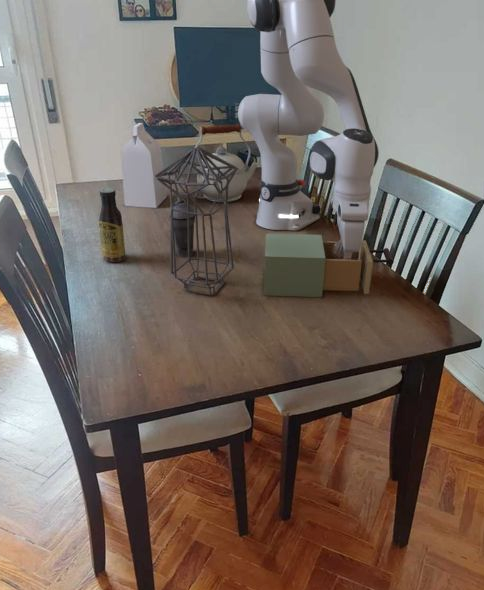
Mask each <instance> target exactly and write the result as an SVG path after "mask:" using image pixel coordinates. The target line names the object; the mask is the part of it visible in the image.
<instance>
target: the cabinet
mask: <svg viewBox="0 0 484 590" xmlns="http://www.w3.org/2000/svg"><path fill="white" fill-rule="evenodd" d="M323 241H324V240H323V235H322V234H302V233H301V234H300V233H299V234H298V233H265V245H264V273H263V274H264V275H263V277H264V279H263V280H264V281H263V296H271V297H273V296H274V297H307V298H309V297H310V298H311V297H312V298H322V297H323V291H324V290H323V281H324V269H325V252H324V246H323Z"/></svg>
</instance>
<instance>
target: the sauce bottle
mask: <svg viewBox="0 0 484 590" xmlns="http://www.w3.org/2000/svg"><path fill="white" fill-rule="evenodd" d="M116 195H117V193H116V189H115V188H112V187H103V188H100V189H99V196H100V202H101V209H100V213H99V218H98V227H99V234H100V243H101V244H100V245H101V252H102V255H103V260H104V261H105V262H108V263H119V262H121V261H123V260H125V258H126V246H125V245H126V243H125V235H124V234H125V233H124V225H123V217H122V213H121V210H119V208H118V206H117V200H116Z"/></svg>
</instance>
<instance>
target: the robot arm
mask: <svg viewBox="0 0 484 590" xmlns="http://www.w3.org/2000/svg"><path fill="white" fill-rule="evenodd" d="M336 1H337V0H247V2H246V10H247V15H248V18H249V21H250V23H251V25H252V27H253V28H254V29H255V30H256V31H258V32H260V37H259V41H260V42H259V43H260V46H259V48H260V73H261V75H262V77H263V79H264V81H265V82H266V83H267V84H268V85H270V86H272V87H273V88H275V89H276V90H277V91H278V92H279V93H280V94H270V93H256V94H251V95H246V96H244V98H242V100H241V101H240V103H239V105H238V110H237V117H238V122H239V124H240V125H241V128H242V129H243V130H245V132H247V133H248V134H249V135H250V136H251V138H252V139H253V140H254V142H255V144H256V145H257V148H258V150H259V154H260V160H261V161H260V164H261V178H260V180H259V192H260V194H259V199H258V201H259V202H258V209H257V210H258V211H257V213H256V220H255V223H256V225H258V226H259V227H260V228H263V229H265V230H266V229H267V230H272V231H273V230H274V231H292V232H293V231H294V232H297V231H300V230H302V229H304V228H306V227H307V226H309V225H311V224H313V223H314V222H316V221H318V220H320V218H321V217H320V215H319V214H320V212H321V210H322V209H321V205H319V204H318V203H316V202H315V201H312V200H311V198H310V197H309V196H307V195H306V194H305V193H304V192H302V191H301V189H300V187H302V188H304V187H305V186H306V181H305V180H304V179H301V178H300V179H297V172H298V157H297V154H296V152H295V151H294V150H293V149H292V148H291V147H289V146H287V145H286V144H284V143H283V142H282V140H280V137H279V136H296V137H303V136H309V135H310V136H311V135H315V134H317V133H318V132H319V131H320V130H321V128H322V127H323V124H324V121H325V110H324V106H323V104H322V103H321V101H320V100H319V99H318V98H317V97H315V96H314V95H313V93H311V91H310V90H309V89H308V88H310V89H314V90H317V91H319V92H322V93H324V94H326V95H327V96H329V97H330V98H332V100H334V102H335V103H336V105H337V107H338V109H339V113H340V116H341V119H342V122H343V126H344V130H342V132H340V133H339V134H337V135H335V136H331V137H327V138H321V139H319V140H316V141H315V142H314V143H313V144H312V146H311V147H310V151H309V155H308V166H309V170H310V172H311V173H312V174H313V175H314V176H315V177H316V178H317V179H319V180H321V181H322V180H323V181H332V182H334V186H333V195H332V207H331V208H332V209H333V210H334V211H335V212H336V219H337V221H336V223H337V227H338V230H339V231H338V232H339V235H340V238H341V240H342V244H343V249H344V257H343V259H346V260H351V256H352V253H353V252H358V251H359V252H360V249H361V241H362V240H363V236H364V232H365V231H364V230H365V225H366V224H365V223H366V222H367V221H368V220H369V208H370V201H371V192H372V186H371V180H372V177H373V174H374V171H375V170H374V169H375V167H376V166H377V163H378V160H379V154H380V153H379V152H380V151H379V146H378V143H377V141H376V139H375V136H374V135H373V133H372V130H371V128H370V125H369V121H368V118H367V115H366V111H365V109H364V106H363V101H362V98H361V94H360V92H359V89H358V85H357V82H356V80H355V79H356V78H355V77H354V75H353V73H352V71H351V69H350V68H349V67H347V66H346V64H345V62H344V61H343V59H342V57H341V55H340V52H339V50H338V47H337V44H336V40H335V33H334V29H333V24H332V21H331V17H332V15H333V14H334V12H335V9H336Z"/></svg>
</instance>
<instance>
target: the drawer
mask: <svg viewBox="0 0 484 590" xmlns="http://www.w3.org/2000/svg"><path fill="white" fill-rule="evenodd" d="M336 242H337V241H333V240H332V241H330V240H327V241H325V240H323V246H324V252H325V269H324V281H323V291H346V292H347V291H348V292H349V291H350V292H358V291H359V288H360V284H361V287H362V291H363V294H364V295H369V294H370V289H371V287H370V286H371V281H372V273H373V272H372V271H373V266H374V265H373V263H384V264H387V265H389V266H391V265H393V264H394V263H395V262H394V258H393V256H392V254H391V251H390V249H389V247H385V248H383V249H369V248H370V247H369V245H368V243H367V240H364V239H362V241H361V246H360V249H359V257H358V260H346V259H332V250H333V247H334V245H335V244H336ZM371 253H372V254H373V253H374V254H383V256H384V258H385V259H382V258H381V259H380V258H379V259H378V258H377V259H376V258H372V254H371Z"/></svg>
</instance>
